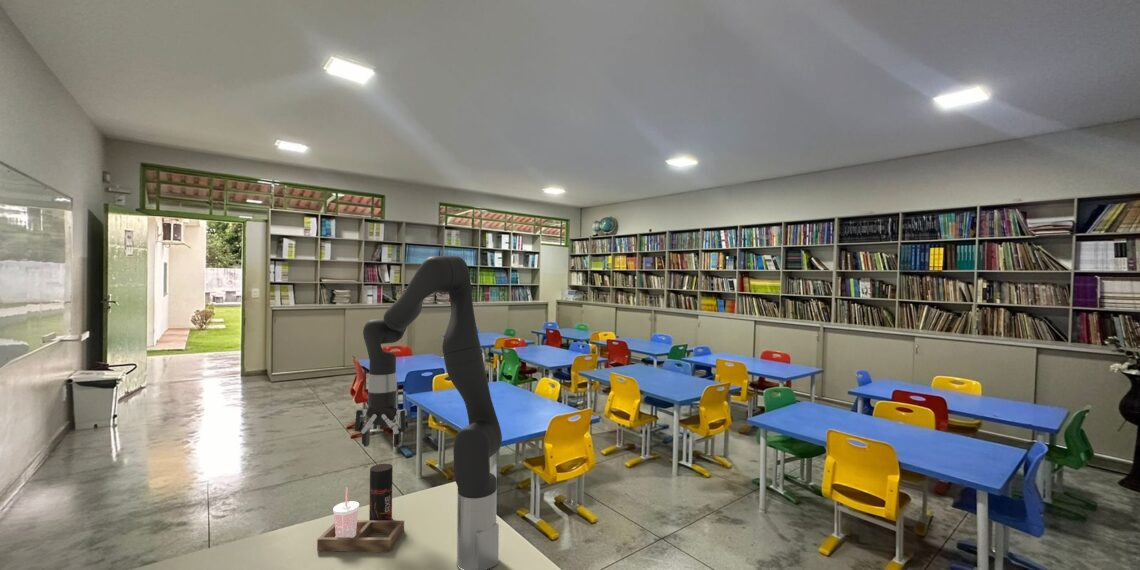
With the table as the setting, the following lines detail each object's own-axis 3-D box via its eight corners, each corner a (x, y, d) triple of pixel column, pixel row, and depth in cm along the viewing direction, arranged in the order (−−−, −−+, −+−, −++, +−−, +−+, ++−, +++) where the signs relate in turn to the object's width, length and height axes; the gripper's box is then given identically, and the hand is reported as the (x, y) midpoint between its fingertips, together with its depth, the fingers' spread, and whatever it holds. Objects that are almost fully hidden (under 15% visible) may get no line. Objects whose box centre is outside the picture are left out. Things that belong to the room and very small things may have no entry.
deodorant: (383, 527, 124) (384, 472, 125) (364, 524, 126) (365, 470, 126) (396, 516, 130) (396, 464, 131) (377, 514, 131) (378, 462, 132)
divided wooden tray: (404, 531, 122) (404, 520, 122) (389, 552, 112) (389, 539, 112) (337, 531, 122) (337, 520, 122) (317, 551, 112) (317, 539, 113)
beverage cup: (362, 534, 121) (362, 481, 121) (353, 547, 115) (354, 491, 115) (338, 535, 120) (338, 482, 120) (328, 548, 114) (329, 492, 114)
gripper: (351, 391, 125) (350, 450, 125) (402, 392, 125) (401, 450, 125) (363, 386, 132) (362, 441, 132) (411, 386, 132) (411, 441, 132)
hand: (381, 446), depth 128 cm, fingers open, 8 cm apart
